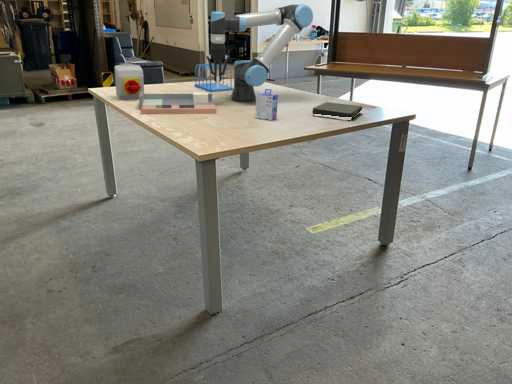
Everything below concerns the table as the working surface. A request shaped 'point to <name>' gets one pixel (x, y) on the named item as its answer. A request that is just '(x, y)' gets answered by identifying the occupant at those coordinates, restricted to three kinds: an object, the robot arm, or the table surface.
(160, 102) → the trap box
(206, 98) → the block
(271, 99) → the ink cartridge box
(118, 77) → the electrical switch box
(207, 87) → the file sorter
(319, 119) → the table surface
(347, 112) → the network switch
